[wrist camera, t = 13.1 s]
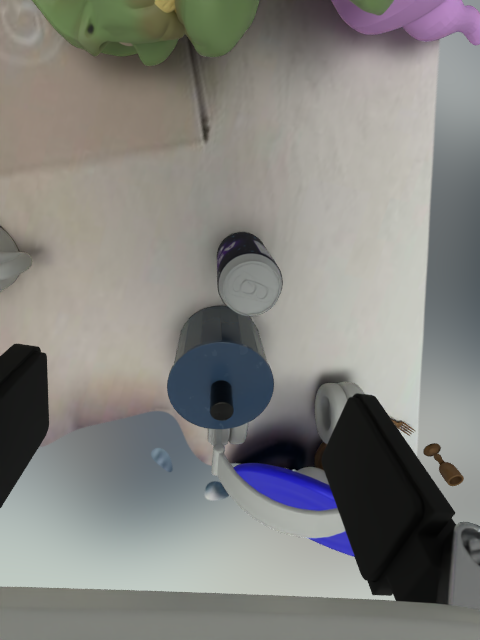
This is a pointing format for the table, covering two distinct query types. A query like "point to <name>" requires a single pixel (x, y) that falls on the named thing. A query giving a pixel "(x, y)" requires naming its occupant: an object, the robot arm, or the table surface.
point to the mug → (11, 260)
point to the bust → (158, 24)
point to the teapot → (415, 19)
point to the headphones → (261, 506)
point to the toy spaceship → (296, 493)
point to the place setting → (446, 469)
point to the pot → (218, 329)
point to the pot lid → (220, 384)
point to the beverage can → (247, 275)
